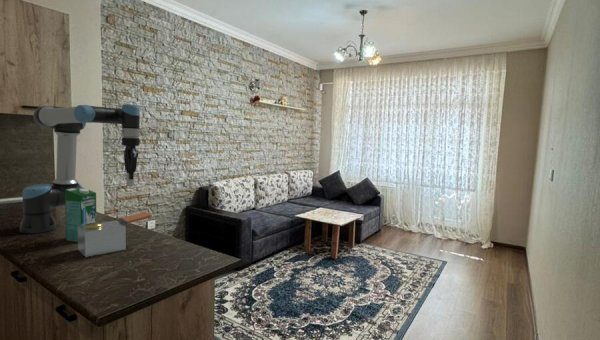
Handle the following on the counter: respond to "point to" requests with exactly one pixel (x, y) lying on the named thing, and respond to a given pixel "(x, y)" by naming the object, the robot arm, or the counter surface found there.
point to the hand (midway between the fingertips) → (130, 185)
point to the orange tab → (135, 217)
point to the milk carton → (79, 210)
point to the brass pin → (94, 225)
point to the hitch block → (102, 239)
